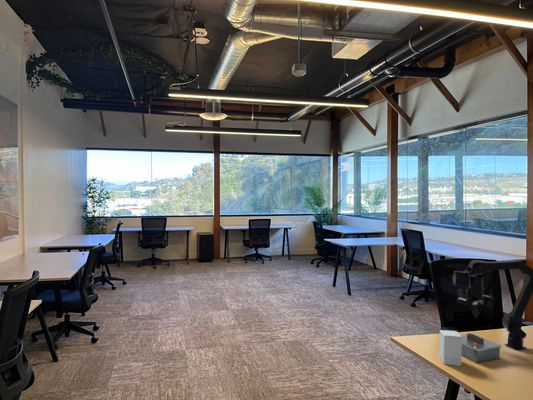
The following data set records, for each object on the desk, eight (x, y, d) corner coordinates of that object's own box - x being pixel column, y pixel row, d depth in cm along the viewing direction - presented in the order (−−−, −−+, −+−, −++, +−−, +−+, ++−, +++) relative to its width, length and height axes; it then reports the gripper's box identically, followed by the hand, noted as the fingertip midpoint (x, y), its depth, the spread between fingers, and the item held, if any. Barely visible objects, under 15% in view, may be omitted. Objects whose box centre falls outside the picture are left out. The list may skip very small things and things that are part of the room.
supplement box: (461, 366, 157) (462, 337, 157) (443, 364, 158) (443, 335, 158) (456, 358, 164) (457, 330, 164) (438, 357, 166) (439, 329, 165)
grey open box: (472, 346, 178) (472, 336, 178) (499, 358, 165) (499, 347, 165) (450, 350, 173) (450, 339, 173) (476, 363, 160) (477, 351, 160)
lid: (473, 335, 178) (473, 329, 178) (501, 347, 165) (501, 340, 165) (450, 339, 173) (450, 332, 173) (477, 351, 160) (477, 344, 160)
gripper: (475, 281, 193) (475, 310, 193) (448, 283, 187) (448, 313, 187) (495, 286, 182) (494, 317, 183) (467, 288, 176) (466, 321, 176)
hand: (475, 317), depth 182 cm, fingers closed
